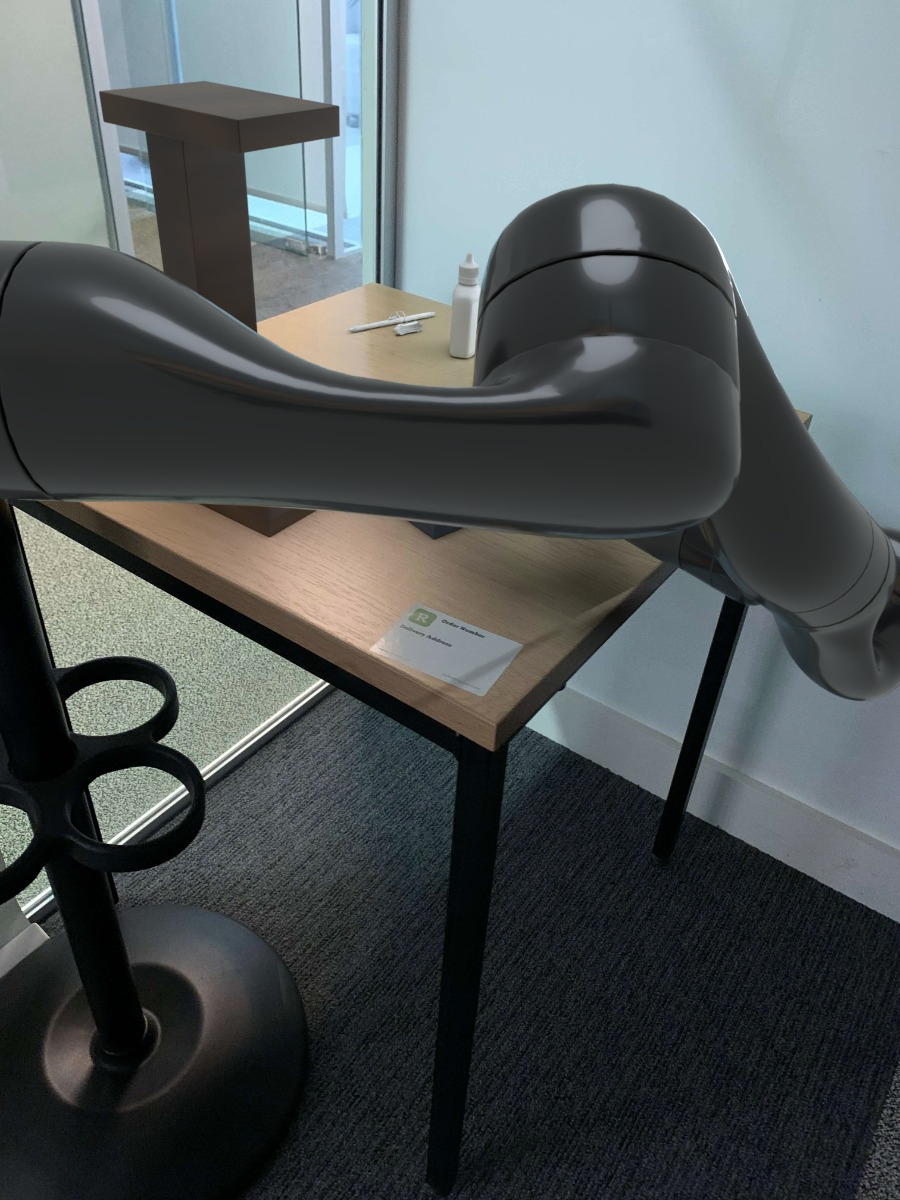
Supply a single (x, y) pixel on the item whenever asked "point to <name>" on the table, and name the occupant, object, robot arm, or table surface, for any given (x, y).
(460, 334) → the eye dropper bottle
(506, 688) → the table surface
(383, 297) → the table surface
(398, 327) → the picture light
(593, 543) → the table surface
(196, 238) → the shelf stand
